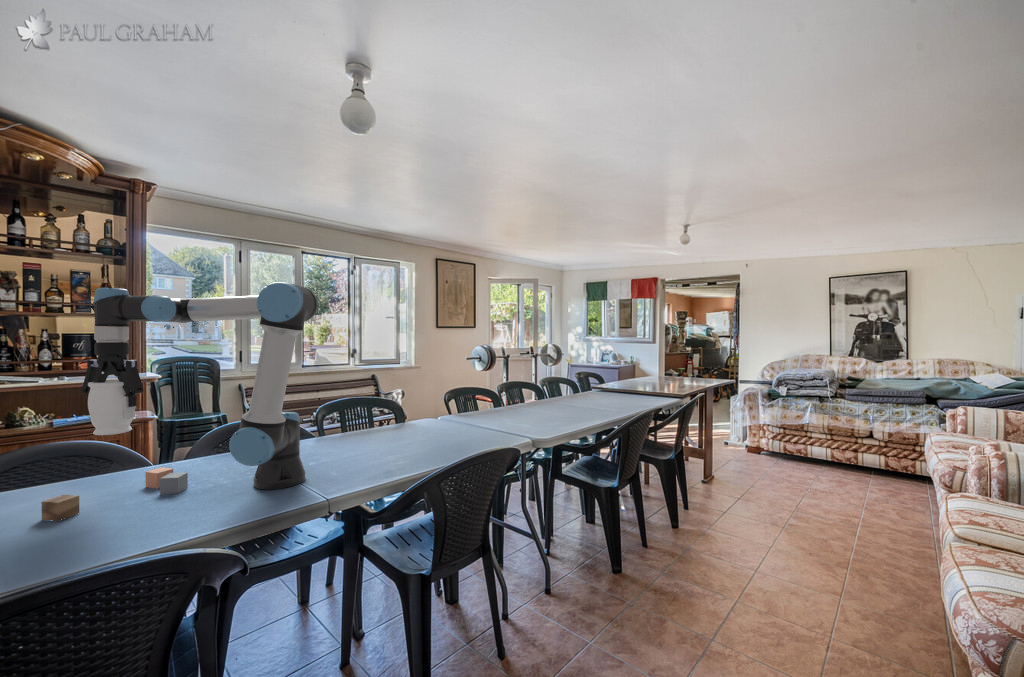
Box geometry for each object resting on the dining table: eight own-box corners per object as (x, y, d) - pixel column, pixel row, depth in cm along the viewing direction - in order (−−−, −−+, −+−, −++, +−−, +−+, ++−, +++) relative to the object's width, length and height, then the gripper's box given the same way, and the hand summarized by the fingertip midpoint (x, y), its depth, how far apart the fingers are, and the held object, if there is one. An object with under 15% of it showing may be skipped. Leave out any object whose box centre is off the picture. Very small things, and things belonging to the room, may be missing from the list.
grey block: (187, 488, 140) (187, 472, 140) (178, 493, 135) (177, 477, 135) (170, 488, 139) (170, 473, 139) (160, 494, 134) (159, 478, 134)
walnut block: (79, 513, 120) (79, 495, 120) (58, 521, 115) (58, 502, 115) (63, 512, 121) (63, 494, 120) (41, 520, 116) (41, 501, 116)
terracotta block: (173, 484, 144) (173, 468, 144) (157, 489, 139) (156, 473, 139) (162, 482, 145) (161, 467, 145) (145, 487, 140) (145, 471, 140)
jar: (107, 437, 123) (106, 383, 123) (78, 435, 125) (77, 382, 125) (145, 429, 133) (145, 379, 133) (118, 427, 135) (117, 378, 135)
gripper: (159, 341, 131) (159, 416, 132) (91, 341, 134) (91, 414, 134) (134, 342, 124) (135, 421, 124) (63, 341, 126) (64, 419, 127)
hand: (112, 417), depth 129 cm, fingers closed on jar, 10 cm apart
